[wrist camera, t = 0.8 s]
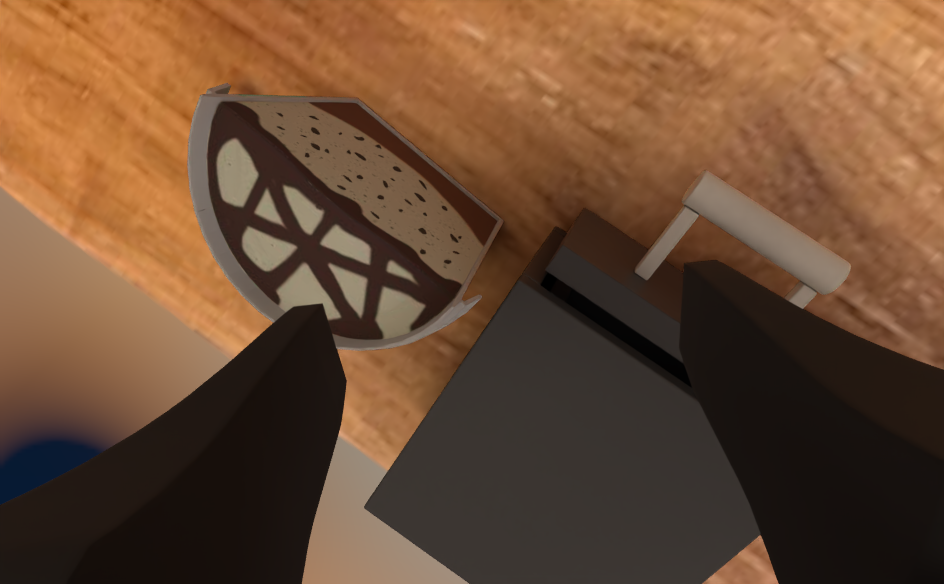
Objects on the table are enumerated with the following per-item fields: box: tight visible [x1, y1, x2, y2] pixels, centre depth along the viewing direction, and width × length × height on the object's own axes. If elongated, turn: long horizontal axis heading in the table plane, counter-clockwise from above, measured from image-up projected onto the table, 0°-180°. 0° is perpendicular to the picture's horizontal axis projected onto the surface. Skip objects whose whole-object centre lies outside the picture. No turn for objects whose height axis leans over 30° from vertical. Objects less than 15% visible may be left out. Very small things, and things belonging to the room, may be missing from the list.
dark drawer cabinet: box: [364, 227, 761, 584], centre depth 28 cm, size 14×13×8 cm
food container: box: [187, 83, 504, 351], centre depth 27 cm, size 12×6×10 cm, turn 53°
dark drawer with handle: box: [545, 170, 851, 388], centre depth 26 cm, size 17×11×6 cm
